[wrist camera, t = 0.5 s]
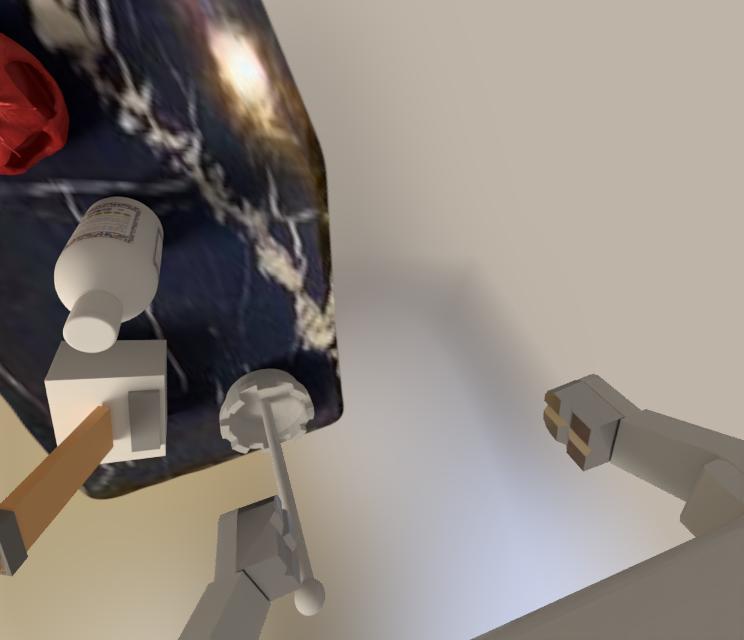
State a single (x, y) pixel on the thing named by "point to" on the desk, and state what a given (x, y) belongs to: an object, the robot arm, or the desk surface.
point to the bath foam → (108, 271)
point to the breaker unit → (113, 394)
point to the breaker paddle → (51, 487)
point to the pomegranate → (28, 110)
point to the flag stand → (274, 448)
